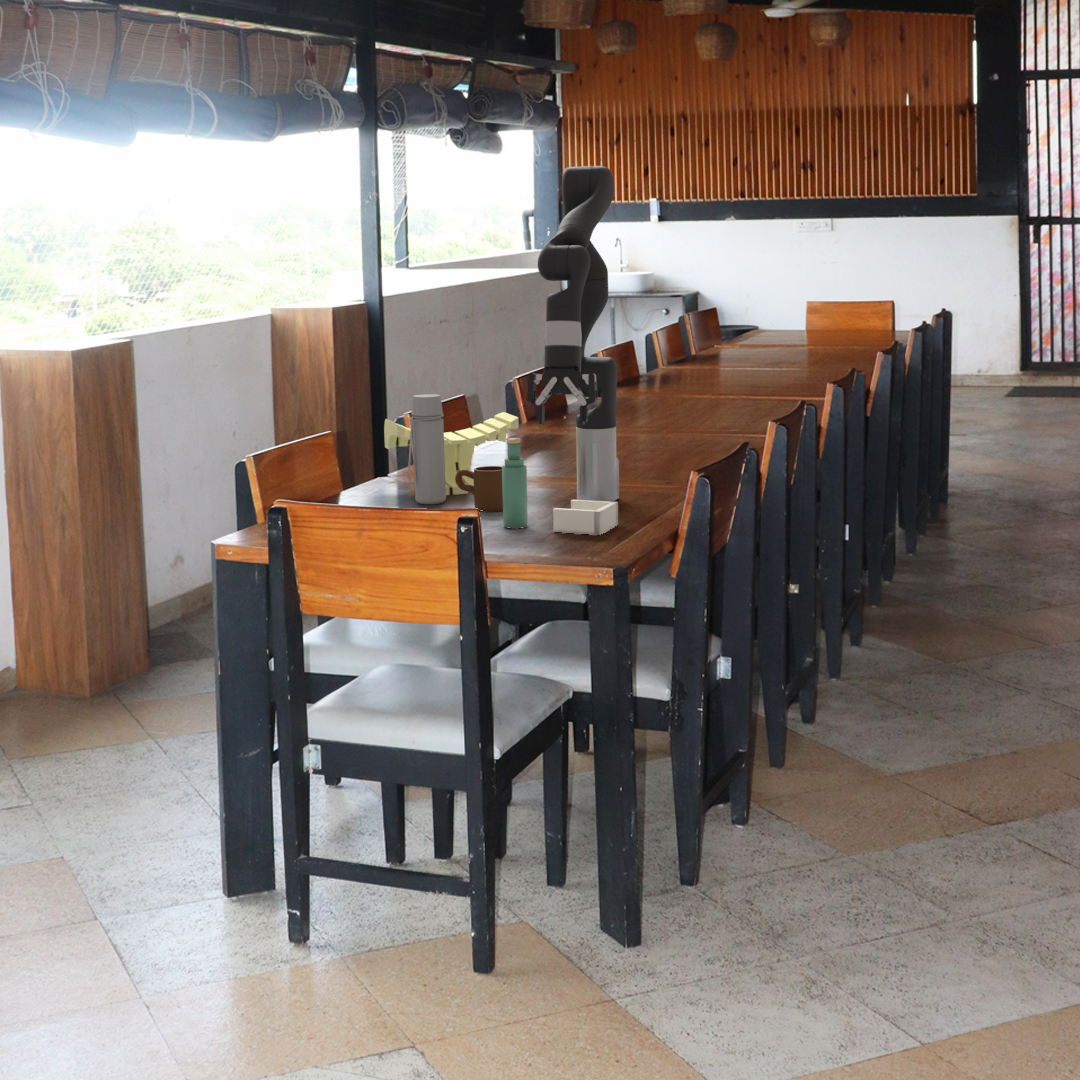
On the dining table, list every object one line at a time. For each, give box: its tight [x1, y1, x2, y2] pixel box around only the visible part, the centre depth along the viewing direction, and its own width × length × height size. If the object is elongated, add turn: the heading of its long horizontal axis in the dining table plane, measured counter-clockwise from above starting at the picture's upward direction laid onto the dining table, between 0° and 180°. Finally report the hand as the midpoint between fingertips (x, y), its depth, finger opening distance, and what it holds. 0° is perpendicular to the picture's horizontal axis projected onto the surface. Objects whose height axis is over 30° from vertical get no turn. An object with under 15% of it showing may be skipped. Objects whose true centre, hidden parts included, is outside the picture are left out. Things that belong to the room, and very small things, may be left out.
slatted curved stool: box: [383, 411, 520, 496], centre depth 334 cm, size 30×16×18 cm, turn 108°
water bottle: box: [407, 393, 447, 505], centre depth 316 cm, size 9×8×25 cm
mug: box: [455, 465, 503, 512], centre depth 308 cm, size 12×8×9 cm, turn 79°
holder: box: [552, 499, 619, 536], centre depth 284 cm, size 10×11×5 cm
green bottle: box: [501, 437, 529, 528], centre depth 287 cm, size 5×5×19 cm
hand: (561, 424), depth 278 cm, fingers open, 8 cm apart
